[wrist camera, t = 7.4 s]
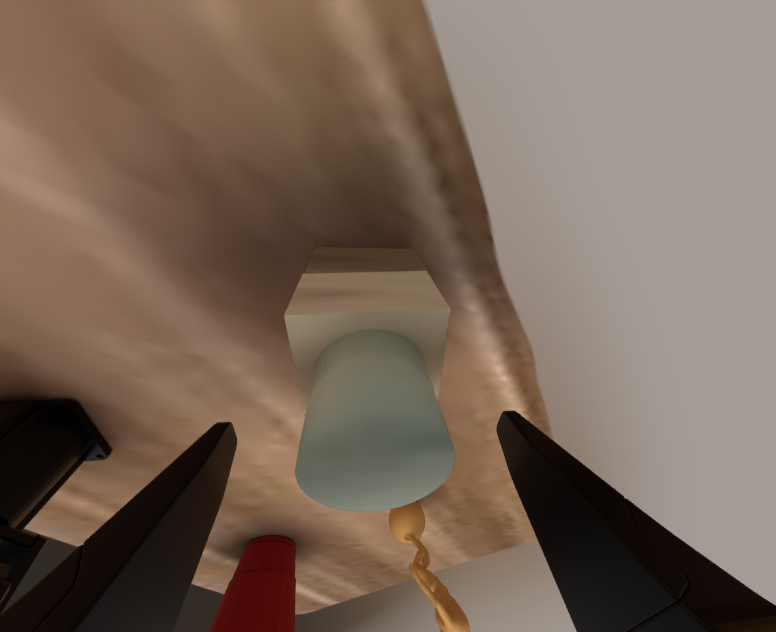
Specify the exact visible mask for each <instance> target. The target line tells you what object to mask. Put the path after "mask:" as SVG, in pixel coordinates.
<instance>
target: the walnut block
mask: <svg viewBox="0 0 776 632" xmlns="http://www.w3.org/2000/svg"><path fill="white" fill-rule="evenodd" d="M395 271H427V272H428V274H429V270H428V269H427V267H426V266H425V264H424V262H423V261H422V259H421V258H420V256H419V255H418V253H417V252H416V250H415V249H401V248H356V247H315V249H314V251H313V253H312V255H311V258H310V260H309V262H308V264H307V267H306V269H305V273H306V274H314V273H354V272H395Z"/></svg>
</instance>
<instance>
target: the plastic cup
mask: <svg viewBox="0 0 776 632" xmlns="http://www.w3.org/2000/svg"><path fill="white" fill-rule="evenodd" d="M295 555H296V550H295V544H294V542H293V541H292V540H290V539H288V538H286V537H282V536H263V537H258V538H256V539H254V540H251V541H250V542H249V543H248V544H247V547H246V549H245V550H244V552H243V554H242V556H241V559H240V561H239V564H238V566H237V568H236V571H235V573H234V576H233V578H232V580H231V581H230V583H229V585H228V587H227V590H226V592H225V594H224V597H223V599H222V602H221V604H220V606H219V608H218V611H217V613H216V616H215V618H214V620H213V622H212V625H211V627H210V630H209V632H294V627H295V626H294V625H295V588H296V579H295Z"/></svg>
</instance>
